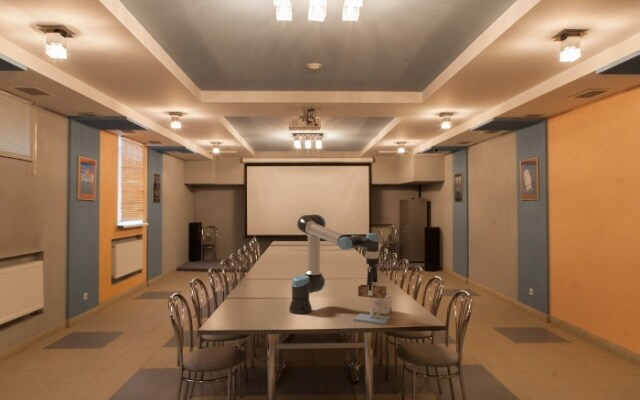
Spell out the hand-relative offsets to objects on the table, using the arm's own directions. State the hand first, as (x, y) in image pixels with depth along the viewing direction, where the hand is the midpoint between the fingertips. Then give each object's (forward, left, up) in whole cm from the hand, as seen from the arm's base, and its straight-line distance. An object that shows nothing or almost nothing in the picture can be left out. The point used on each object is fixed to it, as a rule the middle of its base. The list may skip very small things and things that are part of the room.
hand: (372, 294), depth 266 cm
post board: (0, 0, -16) cm, 16 cm away
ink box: (+2, +20, -16) cm, 26 cm away
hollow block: (0, 0, -1) cm, 1 cm away
